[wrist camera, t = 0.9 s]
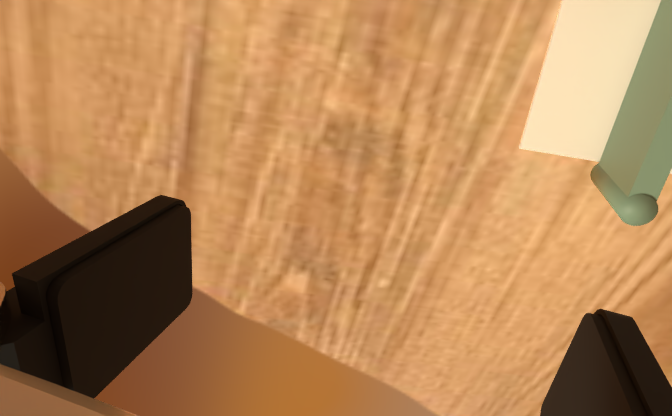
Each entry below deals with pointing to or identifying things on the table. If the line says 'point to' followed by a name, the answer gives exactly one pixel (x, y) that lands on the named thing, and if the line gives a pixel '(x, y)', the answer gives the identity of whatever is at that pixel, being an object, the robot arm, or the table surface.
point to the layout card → (586, 75)
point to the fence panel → (642, 131)
